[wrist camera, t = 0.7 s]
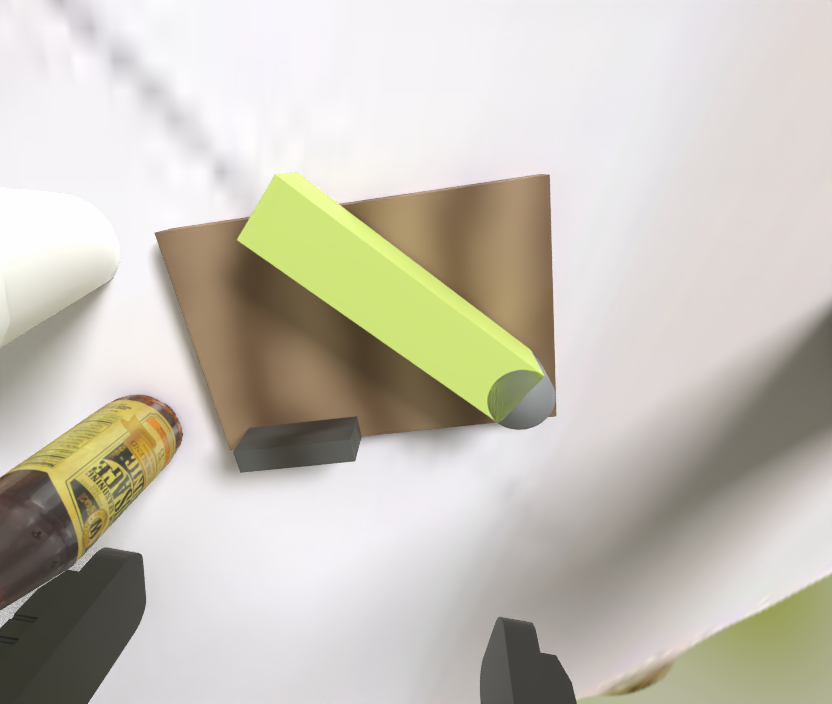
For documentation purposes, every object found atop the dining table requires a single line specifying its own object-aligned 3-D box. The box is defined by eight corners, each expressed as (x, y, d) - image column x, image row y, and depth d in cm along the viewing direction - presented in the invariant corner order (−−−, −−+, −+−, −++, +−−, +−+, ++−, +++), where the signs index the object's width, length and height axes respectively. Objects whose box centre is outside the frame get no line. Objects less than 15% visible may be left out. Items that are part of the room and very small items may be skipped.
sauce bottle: (186, 464, 37) (-50, 756, 19) (109, 448, 37) (-208, 731, 19) (189, 394, 35) (-81, 654, 16) (106, 377, 34) (-264, 622, 16)
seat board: (541, 174, 28) (563, 176, 23) (549, 402, 34) (567, 440, 29) (171, 228, 30) (124, 240, 25) (240, 435, 36) (212, 475, 31)
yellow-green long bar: (553, 366, 30) (570, 395, 27) (513, 408, 32) (523, 440, 28) (297, 172, 26) (275, 174, 23) (263, 229, 28) (236, 239, 24)
